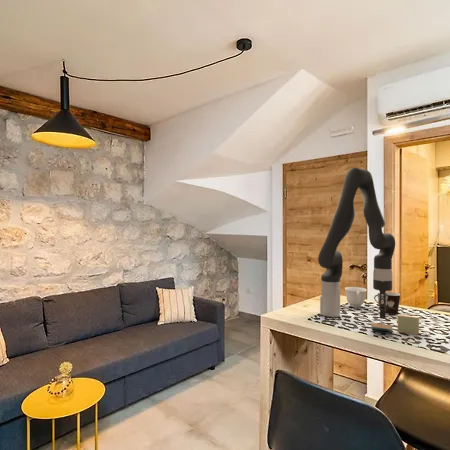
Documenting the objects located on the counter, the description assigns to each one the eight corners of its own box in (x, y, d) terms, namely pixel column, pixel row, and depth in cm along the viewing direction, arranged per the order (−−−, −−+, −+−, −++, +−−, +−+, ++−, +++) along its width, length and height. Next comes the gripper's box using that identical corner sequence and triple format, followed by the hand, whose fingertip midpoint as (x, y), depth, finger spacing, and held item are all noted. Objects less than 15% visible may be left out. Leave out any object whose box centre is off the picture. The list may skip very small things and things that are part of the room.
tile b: (397, 331, 139) (397, 315, 139) (397, 330, 141) (397, 314, 141) (419, 334, 136) (419, 317, 136) (418, 333, 137) (418, 316, 137)
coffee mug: (403, 313, 168) (403, 294, 168) (395, 316, 163) (395, 296, 163) (381, 308, 177) (381, 290, 177) (373, 310, 172) (373, 292, 172)
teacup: (346, 309, 174) (346, 291, 174) (342, 303, 189) (342, 286, 189) (370, 311, 172) (370, 292, 172) (364, 304, 186) (365, 287, 186)
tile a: (371, 329, 142) (370, 326, 136) (371, 325, 143) (371, 322, 137) (392, 332, 138) (392, 329, 133) (392, 328, 139) (392, 325, 133)
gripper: (373, 276, 148) (373, 313, 148) (372, 280, 137) (372, 321, 137) (392, 277, 145) (392, 315, 145) (392, 281, 133) (392, 323, 133)
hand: (382, 318), depth 141 cm, fingers closed
